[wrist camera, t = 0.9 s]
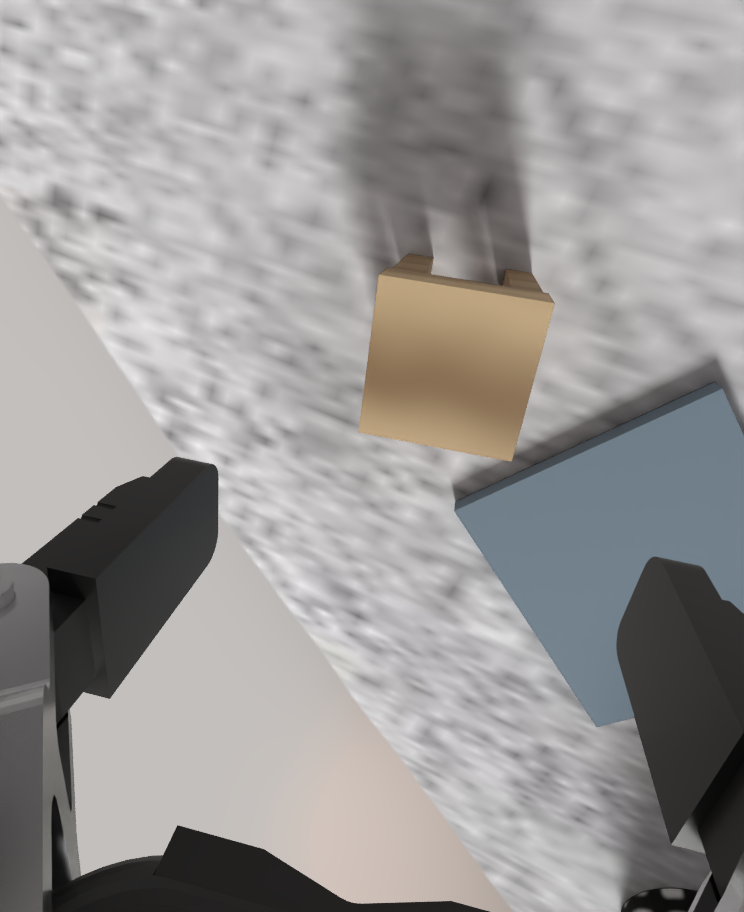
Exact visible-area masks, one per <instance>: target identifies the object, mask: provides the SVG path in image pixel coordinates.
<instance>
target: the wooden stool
mask: <svg viewBox="0 0 744 912" xmlns="http://www.w3.org/2000/svg"><path fill="white" fill-rule="evenodd" d="M432 264H433V258H432V257H426V256H419V255H413V254H408V255H406V256H405V257H404V258H403V259H402V260H401V261H400V262H399V263H398V264H396V265H395V266H394V267H393V268H389V267H387V268H386V269H385V270H384V271H383V272H381V273H380V274H379V277H378V285H377V293H376V300H375V308H374V316H373V324H372V331H371V339H370V347H369V355H368V362H367V370H366V378H365V386H364V393H363V401H362V409H361V417H360V424H359V432H360V433H365V434H370V435H375V436H381V437H386V438H391V439H396V440H401V441H407V442H412V443H417V444H422V445H427V446H433V447H438V448H443V449H448V450H453V451H459V452H464V453H469V454H474V455H479V456H485V457H490V458H495V459H500V460H505V461H511V462H512V459H513V455H514V451H515V448H516V444H517V440H518V437H519V433H520V429H521V426H522V422H523V418H524V415H525V411H526V407H527V404H528V400H529V396H530V393H531V389H532V385H533V382H534V378H535V374H536V371H537V367H538V363H539V360H540V356H541V352H542V349H543V345H544V341H545V338H546V334H547V330H548V327H549V323H550V319H551V316H552V312H553V308H554V304H555V303H554V301H553V300H552V298H551V296H550V295H549V293H544V292H543V291H542V290H541V288H540V286H539V284H538V283H537V281H536V279H535V278H534V276H533V274H532V273H527V272H521V271H514V270H508V269H506V271H505V276H504V280H503V284H502V286H500V285H494V284H488V283H482V282H475V281H469V280H463V279H457V278H451V277H444V276H438V275H432V274H431V270H432Z"/></svg>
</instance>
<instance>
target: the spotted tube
mask: <svg viewBox="0 0 744 912" xmlns="http://www.w3.org/2000/svg"><path fill="white" fill-rule="evenodd" d="M696 894H697V892H696V891H691V890H685V889H672V888H670V889H657V890H651V891H647V892H644V893H640V894H638V895H636V896H634V897H632V898H631V899H630V900H629V901H627V902H626V903H625V905H624V906H623V908H622V911H621V912H688V911H689V909H690V907H691V905H692V903H693V901H694V899H695V897H696Z"/></svg>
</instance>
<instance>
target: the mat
mask: <svg viewBox="0 0 744 912" xmlns="http://www.w3.org/2000/svg"><path fill="white" fill-rule="evenodd" d="M454 511H455V513H456V514H457V516H458V517H459V519H460V520H461V522H462V523H463V525H464V526H465V528H466V529H467V531H468V532H469V534H470V535H471V537H472V538H473V540H474V542H475V543H476V545H477V546H478V548H479V549H480V551H481V552H482V554H483V555H484V557H485V558H486V560H487V561H488V563H489V564H490V566H491V567H492V569H493V570H494V572H495V573H496V575H497V576H498V578H499V580H500V581H501V583H502V584H503V586H504V587H505V589H506V590H507V592H508V593H509V595H510V596H511V598H512V599H513V601H514V602H515V604H516V605H517V607H518V608H519V610H520V611H521V613H522V614H523V616H524V618H525V619H526V621H527V622H528V624H529V625H530V627H531V628H532V630H533V631H534V633H535V634H536V636H537V637H538V639H539V640H540V642H541V643H542V645H543V646H544V648H545V649H546V651H547V652H548V654H549V655H550V657H551V659H552V660H553V662H554V663H555V665H556V666H557V668H558V669H559V671H560V672H561V674H562V675H563V677H564V678H565V680H566V681H567V683H568V684H569V686H570V687H571V689H572V690H573V692H574V693H575V695H576V697H577V698H578V700H579V701H580V703H581V704H582V706H583V707H584V709H585V710H586V712H587V713H588V715H589V716H590V718H591V719H592V721H593V722H594V724H595V725H596V727H600V726H603V725H607V724H611V723H615V722H619V721H622V720H626V719H630V718H634V713H633V710H632V706H631V703H630V699H629V696H628V693H627V689H626V686H625V682H624V679H623V675H622V672H621V668H620V665H619V661H618V657H617V649H616V642H617V633H618V628H619V625H620V622H621V619H622V617H623V615H624V612H625V610H626V608H627V605H628V603H629V601H630V599H631V596H632V594H633V592H634V589H635V587H636V585H637V582H638V580H639V578H640V576H641V573H642V571H643V569H644V567H645V565H646V563H647V562H648V560H649V559H650V558H652V557H661V558H665V559H670V560H675V561H680V562H685V563H690V564H695V565H699V566H701V567H702V568H704V570H705V571H706V573H707V575H708V576H709V578H710V580H711V582H712V583H713V585H714V587H715V588H716V590H717V592H718V594H719V595H720V597H721V599H722V600H727V601H730V602H731V603H732V604H734V605H735V606H736V607H737V608H738V609H739V610H740V611H741V612H742V613H743V614H744V435H743V433H742V430H741V428H740V426H739V424H738V421H737V419H736V417H735V415H734V413H733V410H732V408H731V406H730V404H729V402H728V399H727V397H726V395H725V393H724V390H723V388H721V387H720V386H719V385H718V384H717V383H715V382H713V383H711V384H709V385H707V386H705V387H702V388H700V389H698V390H696V391H694V392H692V393H689V394H687V395H685V396H683V397H681V398H679V399H676V400H674V401H672V402H670V403H668V404H666V405H663V406H661V407H659V408H657V409H655V410H653V411H650V412H648V413H646V414H644V415H642V416H640V417H638V418H635V419H633V420H631V421H629V422H627V423H625V424H622V425H620V426H618V427H616V428H614V429H612V430H609V431H607V432H605V433H603V434H601V435H599V436H596V437H594V438H592V439H590V440H588V441H586V442H583V443H581V444H579V445H577V446H575V447H573V448H571V449H568V450H566V451H564V452H562V453H560V454H558V455H555V456H553V457H551V458H549V459H547V460H545V461H542V462H540V463H538V464H536V465H534V466H532V467H529V468H527V469H525V470H523V471H521V472H519V473H516V474H514V475H512V476H510V477H508V478H506V479H504V480H501V481H499V482H497V483H495V484H493V485H491V486H488V487H486V488H484V489H482V490H480V491H478V492H475V493H473V494H471V495H469V496H467V497H465V498H462V499H460V500H458V501H456V502H455V510H454Z"/></svg>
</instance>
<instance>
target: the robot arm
mask: <svg viewBox="0 0 744 912" xmlns="http://www.w3.org/2000/svg"><path fill="white" fill-rule="evenodd" d="M217 537H218V471H217V468H216V466H215V465H213V464H209V463H204V462H199V461H194V460H189V459H185V458H180V457H174V458H172V459H171V460H170V461H169V462H167V463H166V464H165V465H164V466H163V467H162V468H160V469H159V470H158V471H157V472H156V473H155V474H154V475H152V476H151V477H150V478H149V477H144V476H142V477H140V478H137V479H135V480H132V481H130V482H127V483H125V484H123V485H120V486H118V487H116V488H115V489H113V490H112V491H111V492H110V493H108V494H107V495H106V496H105V497H104V498H102V499H101V500H100V501H99V502H98V504H97V506H95V505H94V506H92V507H91V508H90V509H89V510H88V511H86V512H85V513H84V514H83V515H82V517H81V519H79V518H78V519H76V520H75V521H74V522H73V523H72V524H70V525H69V526H68V527H67V528H65V529H64V530H63V531H62V532H60V533H59V534H58V535H57V536H55V537H54V538H53V539H52V540H50V541H49V542H48V543H47V544H46V545H44V546H43V547H42V548H41V549H39V550H38V551H37V552H36V553H34V554H33V555H32V556H31V557H30V558H28V559H27V560H26V561H25V562H23V563H22V564H17V563H2V564H0V912H489V911H485V910H481V909H478V908H474V907H470V906H467V905H463V904H460V903H456V902H452V901H442V902H408V903H407V902H406V903H373V904H357V903H351V902H348V901H346V900H344V899H342V898H340V897H338V896H337V895H335V894H334V893H332V892H331V891H329V890H327V889H326V888H324V887H323V886H321V885H319V884H318V883H316V882H315V881H313V880H312V879H310V878H308V877H307V876H305V875H303V874H302V873H300V872H299V871H297V870H296V869H294V868H293V867H291V866H289V865H287V864H286V863H284V862H283V861H281V860H280V859H278V858H277V857H275V856H273V855H272V854H270V853H269V852H267V851H266V850H264V849H261V848H257V847H254V846H250V845H247V844H243V843H239V842H236V841H232V840H228V839H225V838H221V837H217V836H214V835H210V834H207V833H203V832H199V831H195V830H192V829H189V828H185V827H181V826H177V828H176V830H175V832H174V834H173V836H172V838H171V841H170V842H169V844H168V847H167V848H166V851H165V853H164V855H163V856H162V855H161V856H148V857H142V858H136V859H129V860H125V861H122V862H118V863H115V864H111V865H108V866H105V867H102V868H99V869H97V870H94V871H92V872H90V873H87V874H85V875H82V876H81V871H80V863H79V862H80V861H79V853H78V844H77V833H76V815H75V792H74V769H73V749H72V748H73V747H72V727H71V726H72V725H71V715H70V708H71V706H72V705H73V704H74V703H75V701H76V700H77V699H78V698H79V696H80V695H81V694H82V693H83V692H86V693H89V694H93V695H98V696H101V697H105V698H109V699H110V698H111V696H112V695H113V694H114V692H115V691H116V689H117V688H118V687H119V685H120V684H121V683H122V681H123V680H124V678H125V677H126V676H127V675H128V673H129V672H130V670H131V669H132V668H133V666H134V665H135V664H136V662H137V661H138V660H139V658H140V657H141V655H142V654H143V652H144V651H145V650H146V649H147V647H148V646H149V644H150V643H151V642H152V640H153V639H154V638H155V636H156V635H157V634H158V632H159V630H160V629H161V628H162V626H163V625H164V624H165V623H166V621H167V620H168V619H169V617H170V616H171V614H172V613H173V612H174V610H175V609H176V608H177V606H178V605H179V604H180V602H181V601H182V599H183V598H184V597H185V595H186V594H187V593H188V591H189V590H190V588H191V587H192V586H193V584H194V583H195V582H196V580H197V579H198V578H199V576H200V575H201V573H202V572H203V571H204V569H205V568H206V567H207V565H208V564H209V562H210V560H211V558H212V556H213V553H214V550H215V547H216V543H217ZM616 649H617V657H618V661H619V665H620V668H621V672H622V675H623V679H624V682H625V686H626V689H627V693H628V696H629V699H630V703H631V706H632V710H633V713H634V717H635V720H636V724H637V727H638V731H639V734H640V738H641V741H642V745H643V748H644V752H645V755H646V759H647V762H648V766H649V769H650V772H651V776H652V779H653V783H654V786H655V790H656V793H657V797H658V800H659V804H660V807H661V811H662V814H663V818H664V821H665V825H666V828H667V832H668V835H669V839H670V842H671V845H674V846H678V847H682V848H685V849H689V850H693V851H697V852H701V853H705V854H706V856H707V859H708V862H709V865H710V868H711V872H710V873H709V874H708V876H707V877H706V878H705V880H704V881H703V883H702V884H701V886H700V888H699V890H698V892H697V894H696V897H695V899H694V901H693V903H692V905H691V907H690V909H689V911H688V912H744V614H743V613H742V612H741V611H740V610H739V609H738V608H737V607H736V606H735V605H734V604H732V603H731V602H730V601H727V600H722V599H721V597H720V595H719V594H718V592H717V590H716V588H715V587H714V585H713V583H712V582H711V580H710V578H709V576H708V575H707V573H706V571H705V570H704V568H702V567H701V566H699V565H695V564H690V563H685V562H680V561H675V560H670V559H665V558H661V557H652V558H650V559H649V560H648V562H647V563H646V565H645V567H644V569H643V571H642V573H641V576H640V578H639V580H638V582H637V585H636V587H635V589H634V592H633V594H632V596H631V599H630V601H629V603H628V605H627V608H626V610H625V612H624V615H623V617H622V619H621V622H620V625H619V628H618V633H617V642H616Z"/></svg>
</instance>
